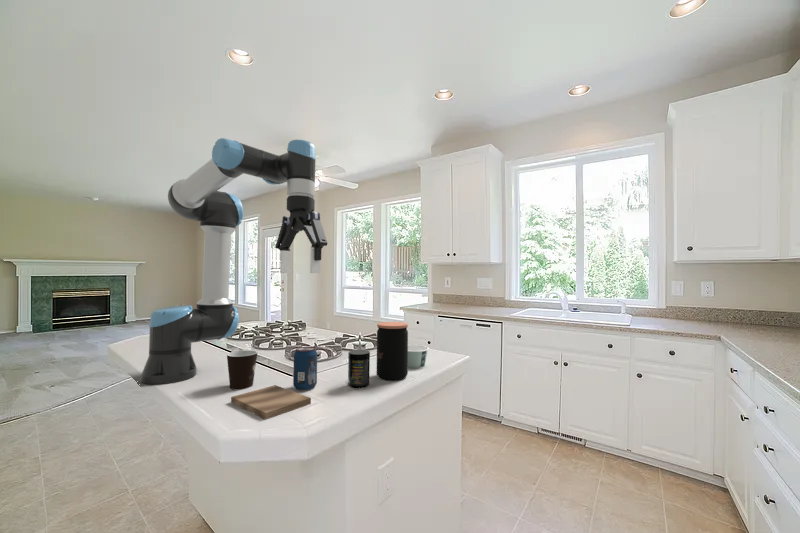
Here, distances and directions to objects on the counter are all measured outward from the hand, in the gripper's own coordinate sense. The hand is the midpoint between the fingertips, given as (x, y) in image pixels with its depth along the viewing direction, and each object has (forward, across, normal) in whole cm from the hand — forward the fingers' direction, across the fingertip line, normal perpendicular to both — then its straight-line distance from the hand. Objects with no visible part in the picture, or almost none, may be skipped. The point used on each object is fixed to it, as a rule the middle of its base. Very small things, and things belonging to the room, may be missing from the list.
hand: (299, 273), depth 94 cm
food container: (+35, -2, -52) cm, 62 cm away
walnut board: (+35, +3, +6) cm, 35 cm away
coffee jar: (+35, -6, -34) cm, 49 cm away
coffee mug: (+35, +24, +2) cm, 42 cm away
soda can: (+35, +7, -8) cm, 36 cm away
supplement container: (+35, -4, -20) cm, 40 cm away
